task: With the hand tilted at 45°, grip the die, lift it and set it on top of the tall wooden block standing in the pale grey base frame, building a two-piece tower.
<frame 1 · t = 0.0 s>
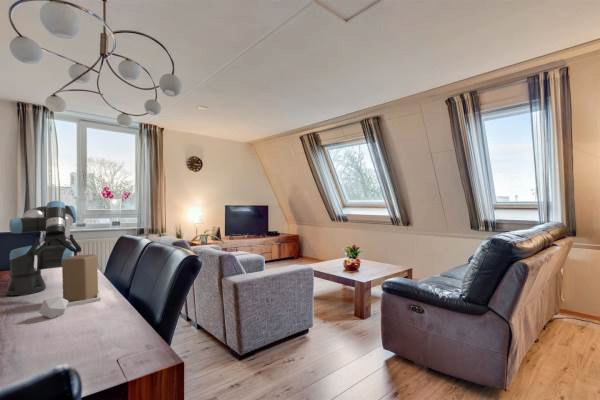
hand: (54, 267, 140), 15 cm above the table, tool tilted 35°, fingers open, 13 cm apart
die: (54, 316, 119), on the table
wooden block: (81, 300, 138), resting in base frame
base frame: (81, 300, 138), on the table
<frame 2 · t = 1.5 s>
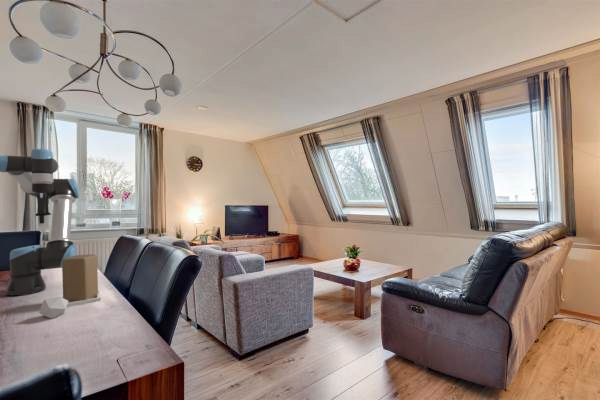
hand: (43, 230, 137), 33 cm above the table, tool pointing down, fingers open, 13 cm apart
nothing on the table moved.
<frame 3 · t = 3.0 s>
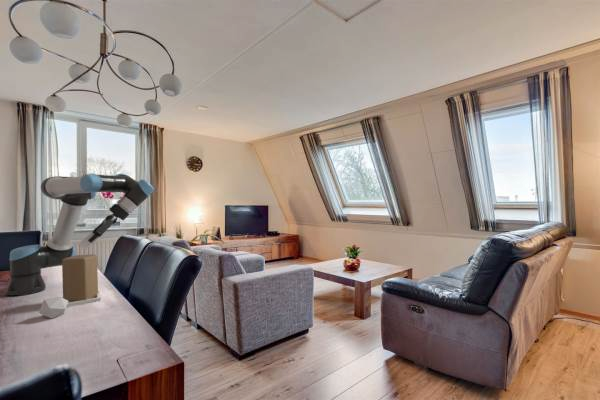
hand: (82, 246, 125), 26 cm above the table, tool tilted 45°, fingers open, 13 cm apart
nothing on the table moved.
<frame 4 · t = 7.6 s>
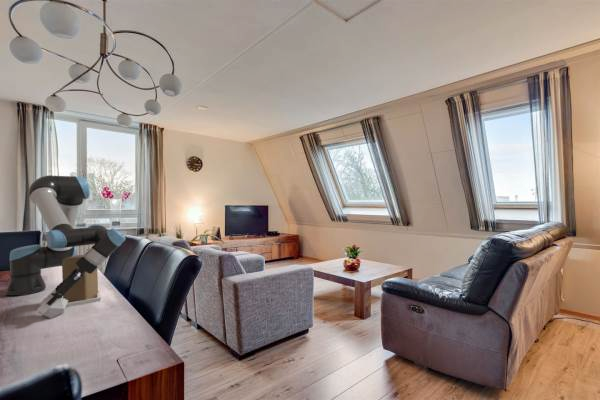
hand: (41, 308, 117), 4 cm above the table, tool tilted 45°, fingers closed on die, 8 cm apart
die: (54, 316, 119), on the table, touching gripper
everything else where it was.
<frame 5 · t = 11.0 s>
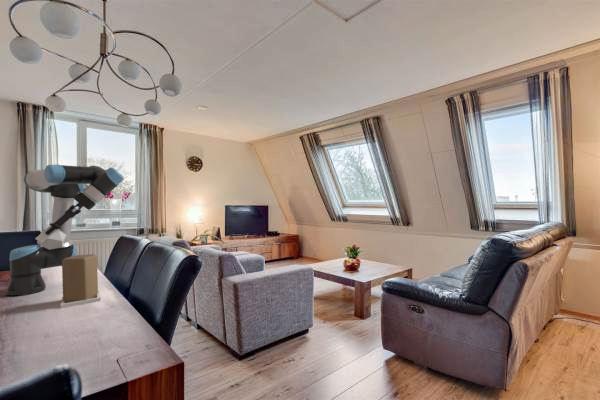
hand: (39, 239, 117), 31 cm above the table, tool tilted 45°, fingers closed on die, 8 cm apart
die: (52, 248, 120), point 26 cm above the table, touching gripper
everything else where it was.
when the fingers open (25 cm above the table, at t = 14.2 s): die stays where it is, resting on wooden block.
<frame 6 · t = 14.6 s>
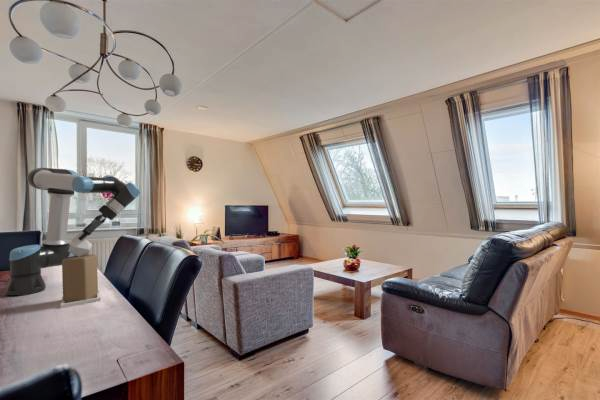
hand: (73, 244, 137), 26 cm above the table, tool tilted 45°, fingers open, 13 cm apart
die: (80, 256, 139), point 20 cm above the table, touching wooden block
wooden block: (81, 300, 138), resting in base frame, touching die
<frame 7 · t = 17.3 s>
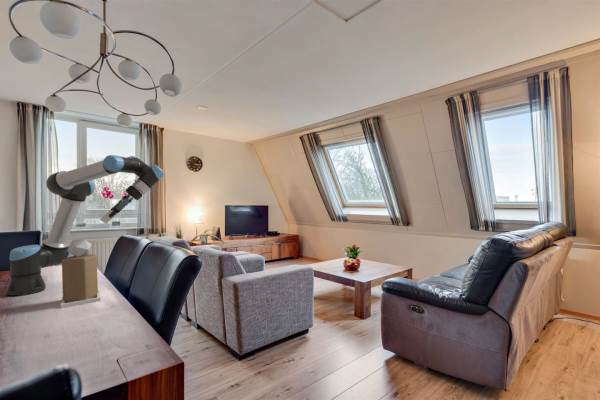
hand: (102, 221, 143), 35 cm above the table, tool tilted 45°, fingers open, 13 cm apart
nothing on the table moved.
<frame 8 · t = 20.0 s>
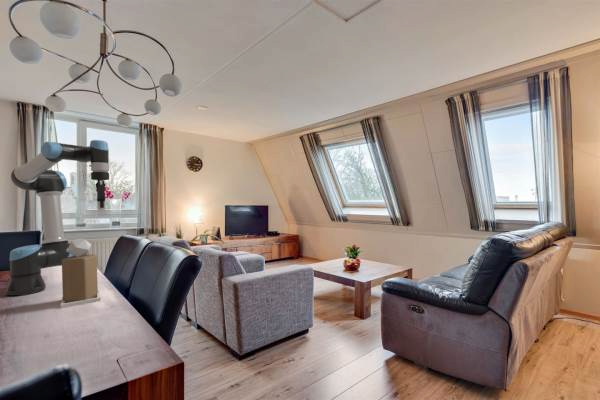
hand: (101, 214, 150), 39 cm above the table, tool pointing down, fingers open, 13 cm apart
nothing on the table moved.
at the end: die inside the target area on the wooden block (0.5 cm from its centre), point 20.0 cm above the wooden block's base; die tilted 1°; the gripper is holding nothing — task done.
